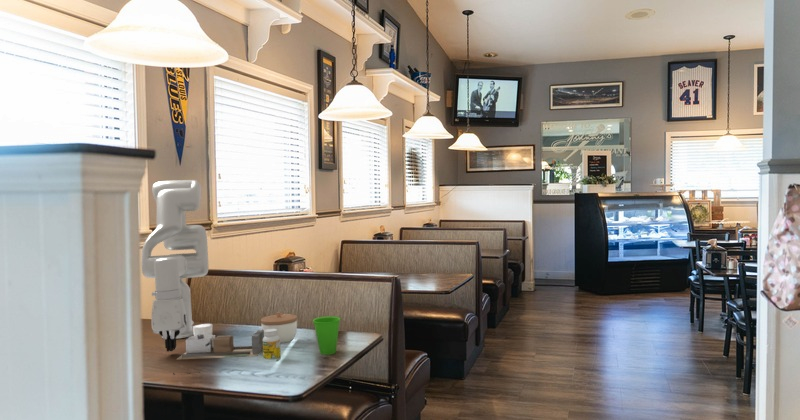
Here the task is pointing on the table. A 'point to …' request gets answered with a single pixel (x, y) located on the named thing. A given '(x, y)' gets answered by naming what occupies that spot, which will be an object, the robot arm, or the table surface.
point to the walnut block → (223, 344)
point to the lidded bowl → (281, 325)
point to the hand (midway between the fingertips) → (171, 350)
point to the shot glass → (202, 329)
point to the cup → (327, 333)
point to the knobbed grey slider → (200, 344)
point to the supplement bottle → (271, 344)
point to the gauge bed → (237, 352)
